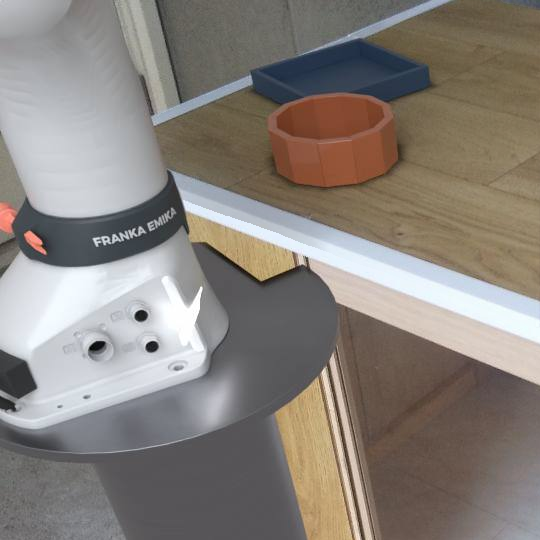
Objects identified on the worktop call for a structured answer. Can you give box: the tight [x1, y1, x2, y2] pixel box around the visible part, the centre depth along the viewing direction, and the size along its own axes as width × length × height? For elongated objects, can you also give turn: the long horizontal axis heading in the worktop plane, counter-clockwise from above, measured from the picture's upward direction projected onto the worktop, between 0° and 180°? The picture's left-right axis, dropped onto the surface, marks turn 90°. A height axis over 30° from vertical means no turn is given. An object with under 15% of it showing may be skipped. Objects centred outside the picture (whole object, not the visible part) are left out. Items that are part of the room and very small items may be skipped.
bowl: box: [267, 92, 400, 188], centre depth 114 cm, size 14×14×5 cm
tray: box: [249, 37, 431, 106], centre depth 130 cm, size 18×16×3 cm
